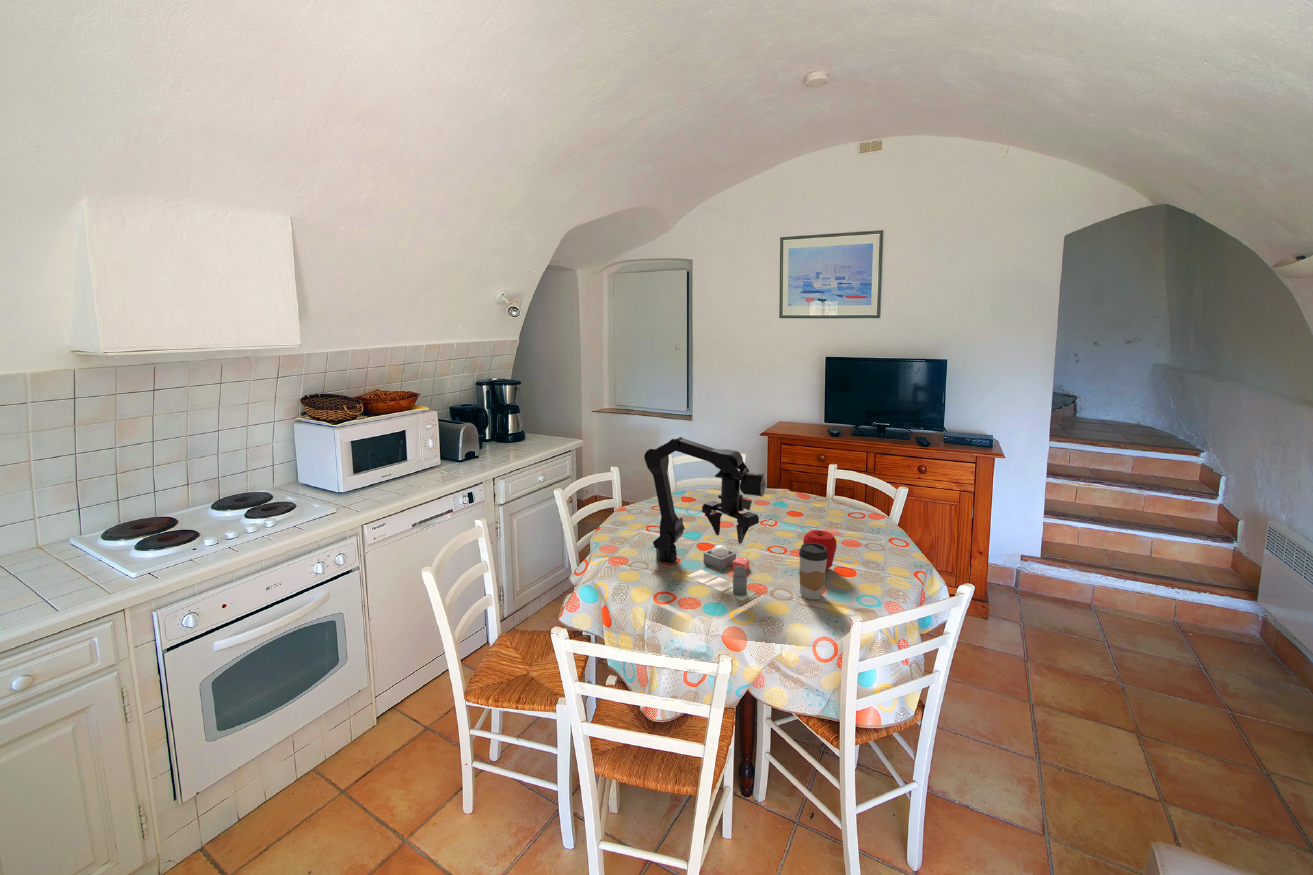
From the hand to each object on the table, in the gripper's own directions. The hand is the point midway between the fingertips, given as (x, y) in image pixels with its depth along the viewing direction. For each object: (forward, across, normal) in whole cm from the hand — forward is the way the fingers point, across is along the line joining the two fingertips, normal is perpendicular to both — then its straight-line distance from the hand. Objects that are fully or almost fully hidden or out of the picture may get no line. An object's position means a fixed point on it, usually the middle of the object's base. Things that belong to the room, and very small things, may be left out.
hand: (728, 539), depth 190 cm
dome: (+11, +6, -3) cm, 13 cm away
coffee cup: (+12, -26, -7) cm, 30 cm away
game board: (+12, -4, +9) cm, 15 cm away
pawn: (+11, -12, +9) cm, 18 cm away
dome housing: (+12, +6, -3) cm, 14 cm away
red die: (+12, -2, -4) cm, 13 cm away
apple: (+12, -18, -24) cm, 32 cm away
